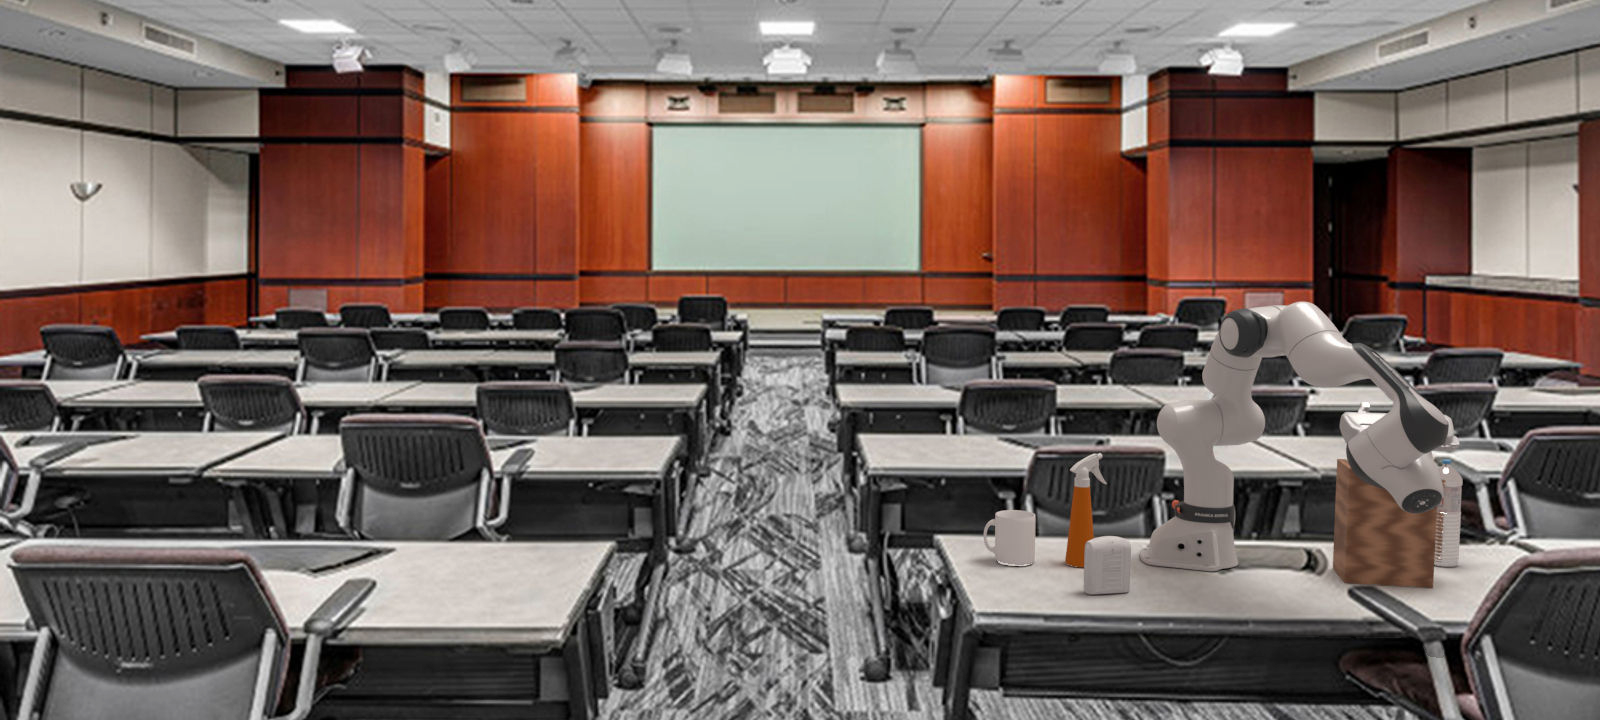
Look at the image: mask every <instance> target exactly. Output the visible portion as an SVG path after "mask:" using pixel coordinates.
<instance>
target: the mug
mask: <svg viewBox="0 0 1600 720" xmlns="http://www.w3.org/2000/svg"><path fill="white" fill-rule="evenodd" d="M994 514H995V515H994V516H995V517H994V518H993V519H991V520H989V521H988V522H987V523H986V525H985V526H984V529H983V543H984V546H985V548H986V549H987V550H988V551H989V552H992V553H993V554H994V560H995V559H996V560H998V561H1000V562H1003V563H1008V564H1015V565H1024V564H1031V563H1033V562H1034V563H1035V559H1036V513H1034V512H1030V511H1027V510H1020V509H1019V510H1017V509H1007V510H1000V511H996V512H995V513H994ZM990 526H995V527H994V528H995V529H994V546H993V547H992V546H990V545H989V543H988V539H987V538H988V537H987V535H988V534H987V533H988V530H989V528H990ZM996 560H995V561H996ZM1034 563H1033V564H1034Z"/></svg>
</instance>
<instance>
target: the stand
mask: <svg viewBox="0 0 1600 720" xmlns="http://www.w3.org/2000/svg"><path fill="white" fill-rule="evenodd" d="M1345 459H1346V458H1337V459H1336V477H1335V478H1336V479H1335V481H1336V482H1335V502H1334V503H1335V506H1334V527H1333V528H1334V529H1333V549H1332V550H1333V553H1332V555H1333V558H1332V569H1333V571H1334V572H1335V573H1336V574H1337V576H1338V577H1339V578H1340V580H1342V582H1343V583H1344V584H1355V585H1357V584H1358V585H1371V584H1377V585H1376V586H1388V585H1389V586H1391V585H1395V586H1394V587H1405V586H1415V587H1414V588H1422V587H1428V588H1427V589H1434V577H1435V575H1434V574H1435V566H1434V560H1435V539H1436V519H1437V506H1436V507H1434V508H1433V509H1431V510H1429V511H1427V512H1424V513H1419V514H1412V513H1408V512H1405V511H1404V510H1402V509H1401V508H1400V507H1399V505H1398V504H1397V502H1396V501H1395V499H1394V498H1393V496H1392V495H1391V494H1390V493H1389V492H1388V491H1387V490H1386V489H1381V488H1378V487H1375V486H1372V485H1369V484H1367V483H1365V482H1364V481H1362V480H1361V479H1360V478H1359V477H1357V476H1356V475H1355V473H1354V472H1353V471H1352V469H1351V467H1350V465H1349V463H1348V462H1347V461H1346V460H1345ZM1389 586H1388V587H1389ZM1391 587H1392V586H1391Z"/></svg>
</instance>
